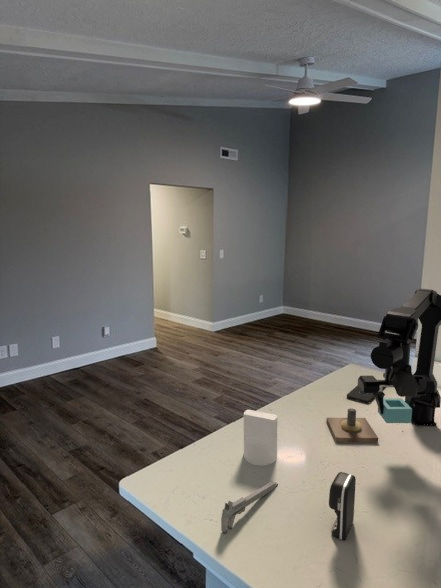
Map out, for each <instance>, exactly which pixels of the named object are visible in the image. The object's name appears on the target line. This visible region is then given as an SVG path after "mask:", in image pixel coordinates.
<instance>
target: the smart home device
mask: <svg viewBox="0 0 441 588" xmlns="http://www.w3.org/2000/svg"><path fill="white" fill-rule="evenodd" d="M385 388H386V387H383V388H382V391H383V390H384V389H385ZM346 399H348V400H351V401H356V402H359V403H363V404H366V405H368V404H370V403H371V402H372V401H373V400H374V399H375V397H374V395H373V394H372V393H364V392H363V391H362V389H361V388H360V387H359V386H358V384H356V386H355V387H354V388H353V389H351V390H350V391H349V392H348V393H347V394H346Z"/></svg>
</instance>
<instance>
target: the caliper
mask: <svg viewBox="0 0 441 588" xmlns="http://www.w3.org/2000/svg"><path fill="white" fill-rule="evenodd" d="M278 485H279V483H278V482H276V481H270V482H268V483H267V484H264V485H263V486H262V487H260V488H258V489H256V490H255V491H253V492H251V493H250V494H248V495H247V496H245V497H240V498H239V499H237V500H235V501H231V500H228V502H225V503H224V507H223V508H222V512H221V518H220V519H221V520H220V522H221V523H220V524H221V529H220V530H221V532H223V533H224V534H227V532H228V530H232V528H233V525H234V524H235V523H234V522H235V519H236V515H240V514H242V513H244V512H245V511H246V507H248V506H250V505H251V504H253V503H254V502H256V501H257V500H259V499H261V498H262V497H265V496H266V495H267V494H269V493H270V492H272V491H273V490H274V489H275V488H276V486H277V487H278Z"/></svg>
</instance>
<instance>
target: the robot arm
mask: <svg viewBox="0 0 441 588" xmlns="http://www.w3.org/2000/svg"><path fill="white" fill-rule="evenodd" d="M418 320H419V322H420V324H421V328H420V336H419V337H420V338H419V346H418V353H417V360H416V361H417V362H416V368H415V372H414V373H413V372H412V369H413V367H412V365H411V364H410V358H411V346H412V345H411V344H412V341H414V339H415V336H416V334H417V330H418V328H419V322H418ZM440 326H441V295H440V294H439V293H438V292H437V291H436V290H434V289H429V288H417V289H416V290H415V292H414V294H413V295H412V296H411V297H410V298H409V299H408V300H407V301H406V302H405V303H404V304H403V305H402V306H400V307H396V308H395V307H394V308H392V309H391V310H389V311H388V312H386V314H384V316H383V319H382V321H381V323H380V328H379V330H378V333H377V336H376V337H377V339H380V341H379V342H378V346H375V347H374V348H373V349H372V350H371V353H370V360H371V362H372V364H373V365H374V366H375V367H377V368H378V369H380V370H385V371H384V372H383V374H382V378H384V379H377V378H376V377H375V376H374V375H360V376H359V377H358V378H357V385H358V386H359V387H360V388H361V389H362V391H363V392H364V393H372V394H373V395H374V397H375V398H374V399H375V401H376V404H377V409H378V408H379V411H380V413H381V414H383V410H384V406H383V398H385V395H386V394H385V392H384V391H383V390H382V388H383V387H385V388H394V390H395V393H396V395H397V396H398V397H400V398H401V397H403V398H404V401H405V402H406V403H407V404H408V405H409V406H410V407H411V408H412V418H411V423H413V424H414V425H415V426H421V427H422V426H423V427H424V426H426V427H427V426H428V427H429V426H432V427H433V426H437V422H436V421H435V414H436V409H439V408H441V395H440V392H439V390H438V381H437V380H436V377H435V375H434V365H435V358H436V351H437V344H438V337H439V330H440V329H439V328H440Z"/></svg>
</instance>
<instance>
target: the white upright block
mask: <svg viewBox="0 0 441 588" xmlns="http://www.w3.org/2000/svg"><path fill="white" fill-rule="evenodd" d="M243 457H244V460H245V461H246V462H247V463H249V464H250V465H255V466H269V465H271V464H273V463H274V462H276V460H277V457H278V414H273V413H269V412H268V413H267V412H263V411H258V410H252V409H246V410H244V412H243Z"/></svg>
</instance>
